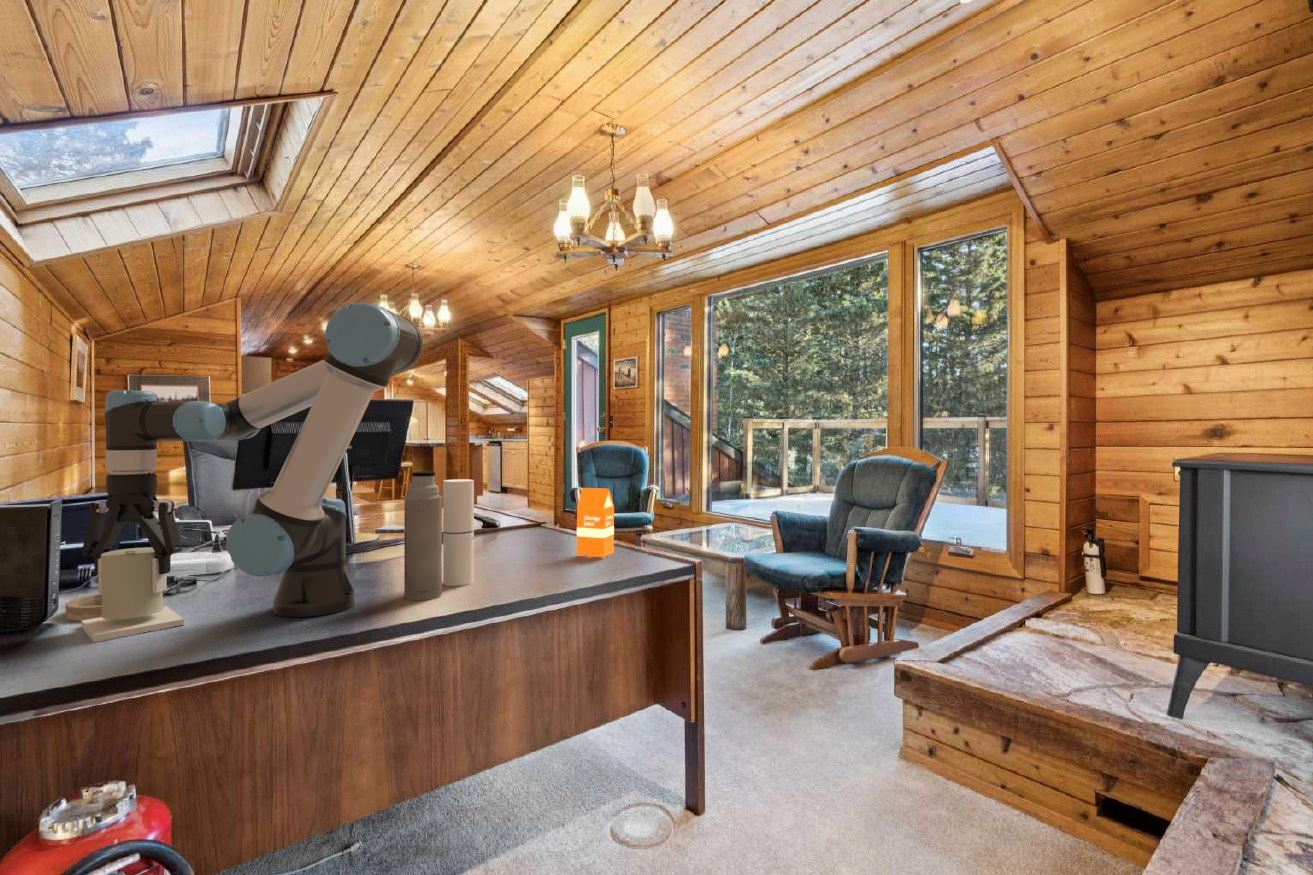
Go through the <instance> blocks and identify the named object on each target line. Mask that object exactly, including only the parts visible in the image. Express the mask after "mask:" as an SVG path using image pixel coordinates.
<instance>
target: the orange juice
mask: <svg viewBox="0 0 1313 875" xmlns="http://www.w3.org/2000/svg"><path fill="white" fill-rule="evenodd" d="M614 518H615V506H614V502H613V498H612V495H611V492H610V488H598V487H595V488H593V487H582V489H581V493H580V496H579V500H578V502H577V506H576V521H577V522H576V555H577V554H580V555H589V556H598V557H605V556H607V555H609V554H612V553H614V552H615V550H614V549H615V547H614V546H615V544H614V543H615V541H614V540H615V539H614V538H615V526H614V525H615V519H614ZM612 555H613V554H612Z"/></svg>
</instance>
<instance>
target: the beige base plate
mask: <svg viewBox="0 0 1313 875" xmlns="http://www.w3.org/2000/svg"><path fill="white" fill-rule="evenodd" d="M80 622H81V624H80V625H81V628H82V629H83V630H84V632H85V634H86V635H87V636H88V637H89V639H90V640H91V641H92V643H97V642H103V641H108V640H113V639H119V638H123V637H124V636H125V637H129V636H134V635H140V634H139V633H141V634H144V633H143V632H146V633H149V632H148V631H151V632H156V631H160V629H162V630H166V629H165V628H167V629H171V628H170V627H172V628H175V627H174V626H178V627H180V626H179V625H183V626H184V625H185V623H184V622H185V619H184V618H183V617H182V616H180V615H179V614H178V613H176V612H175V611H173V609H171V608H170V607H168V606H164V608H163V610H161V611H159V612H157V613H154V614H150V615H146V616H141V617H135V618H128V619H104V618H102V617H99V618H93V619H87V620H81V621H80Z"/></svg>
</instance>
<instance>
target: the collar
mask: <svg viewBox="0 0 1313 875" xmlns="http://www.w3.org/2000/svg"><path fill="white" fill-rule="evenodd" d="M64 608H65V617H66V619H67V620H68V621H70V620H71V621H79V622H81V620H87V619H93V618H99V617H101V613H102V594H98V593H96V594H91V595H87V596H83V597H78V598H74V599H72V600H70V601H68V602H66V603H65V607H64Z"/></svg>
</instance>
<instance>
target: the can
mask: <svg viewBox="0 0 1313 875" xmlns="http://www.w3.org/2000/svg"><path fill="white" fill-rule="evenodd" d="M155 556H157V555H156V553H155V551H154V549H153V548H152V546H151V547H150V546H149V547H133V548H123V549H117V550H111V551H110V552H106V553H103V554H101V565H102V613H101V617H102V618H104V619H128V618H135V617H141V616H146V615H150V614H154V613H157V612H159V611H161V610H163V608H164V607H165V606H164V602H163V600H164V596H163V595H164V594H163V591H161V592H158V593H152V558H155Z"/></svg>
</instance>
